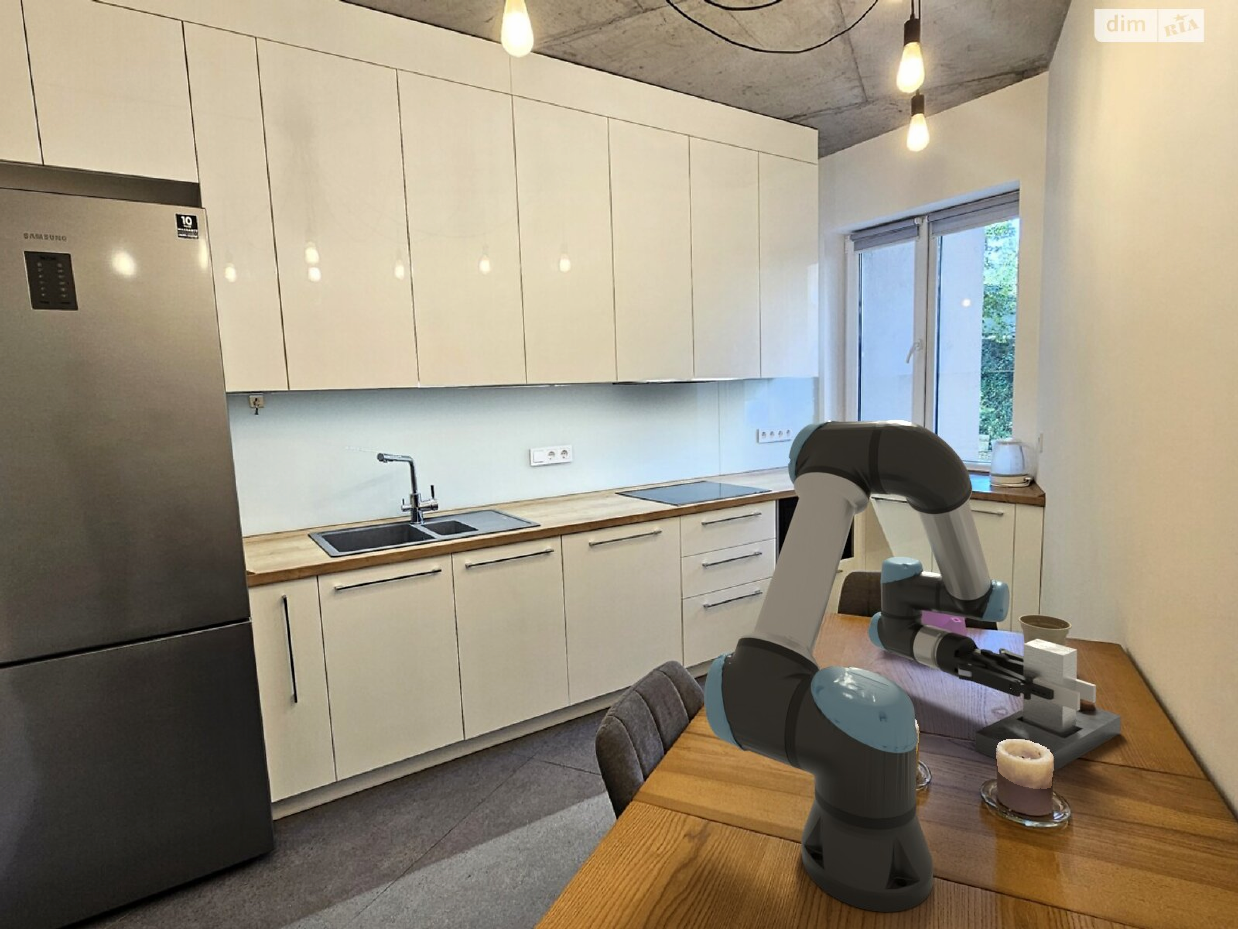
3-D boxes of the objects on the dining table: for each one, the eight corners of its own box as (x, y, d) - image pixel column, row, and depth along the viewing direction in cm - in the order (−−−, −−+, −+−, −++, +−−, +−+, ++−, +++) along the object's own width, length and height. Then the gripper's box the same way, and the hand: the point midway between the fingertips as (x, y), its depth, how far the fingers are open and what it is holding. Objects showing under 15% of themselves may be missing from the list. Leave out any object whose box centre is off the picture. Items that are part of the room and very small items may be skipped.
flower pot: (1074, 659, 137) (1075, 619, 136) (1066, 674, 130) (1067, 632, 129) (1023, 649, 143) (1023, 611, 142) (1013, 663, 136) (1013, 623, 135)
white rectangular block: (1062, 753, 102) (1063, 655, 100) (1022, 737, 107) (1023, 644, 106) (1075, 746, 104) (1077, 649, 102) (1036, 730, 109) (1037, 638, 107)
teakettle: (898, 626, 161) (897, 578, 160) (974, 639, 150) (974, 587, 149) (878, 649, 147) (877, 596, 146) (960, 664, 137) (960, 607, 136)
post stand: (1040, 779, 95) (1040, 747, 95) (974, 749, 104) (974, 720, 103) (1122, 732, 107) (1123, 703, 107) (1057, 709, 116) (1057, 682, 115)
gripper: (974, 660, 125) (1113, 706, 104) (917, 682, 116) (1056, 736, 96) (974, 622, 124) (1114, 661, 104) (916, 641, 116) (1057, 688, 95)
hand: (1086, 697), depth 100 cm, fingers closed on white rectangular block, 4 cm apart
